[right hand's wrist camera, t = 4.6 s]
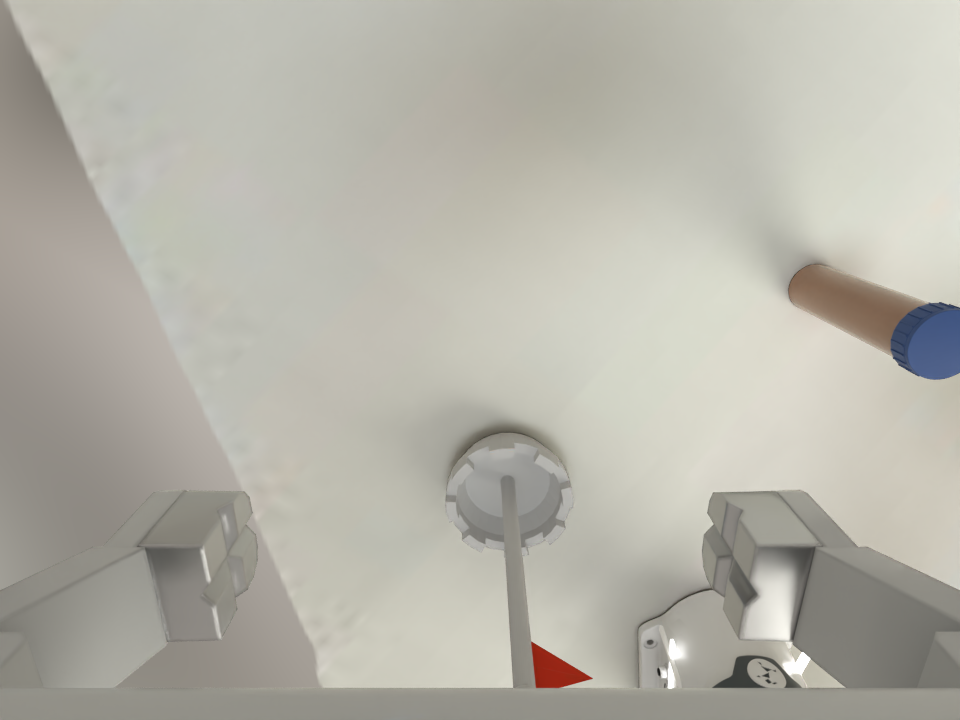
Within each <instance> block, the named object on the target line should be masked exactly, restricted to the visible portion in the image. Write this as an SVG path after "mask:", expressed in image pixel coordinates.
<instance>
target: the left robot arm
mask: <svg viewBox="0 0 960 720" xmlns="http://www.w3.org/2000/svg"><path fill="white" fill-rule="evenodd" d="M723 604H724V597H723V596H721V595H720V594H718V593H717V592H715V591H714V590H708V591H703V592H700V593H696V594H694V595H691V596H689V597H687V598H685V599H683V600H681V601H680V602H678V603H677V604H676V605H674V606H673V607H672V608H671V609H670V610H668V611H667V612H666V613H665V614H663V615H662V616H660V617H658V618H655V619H653V620H650V621H648V622H646V623H644V624H642V625H641V626H640V627H639V630H638V649H639V688H808V687H807V685H806V683H805V681H804V679H803V677H802V672H803V670H804V668H805V667H806V665H807V663H808V661H809V660H810V658H809V657H808V656H806V655H805V654H804V653H803V652H802V654H801V655H800V657H799V659H798V661H797V662H795V660H794V658H793V656H792V654H791V652H790V649H791V647H792V642H782V641H746V640H739V639H738V637H737V635H736V633H735V632H734V630H733V628H732V626H731V624H730V622H729V620H728V618H727V616H726V615H725V613H724V611H723Z"/></svg>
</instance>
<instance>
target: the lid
mask: <svg viewBox="0 0 960 720" xmlns="http://www.w3.org/2000/svg"><path fill="white" fill-rule="evenodd" d="M890 341H891V344H890V345H891V349H890V350H891V352H892V355H893V359H895V360H896V362H897V363H898V365H899V366H901V367H903V368H905V369H906V370H908V371H910V372H911V373H913V374H915V375H917V376H921V377H924V378H927V379H934V380H936V379H945V378H949V377H952V376H954V375H956V374H958V373H960V308H959V307H956V306H953V305H950V304H949V305H947V304H944V303H941V302H939V303H928V304H926V305H922V306H918V307H917V308H915V309H914V310H912V311H910V312H908V314H906V315H905V316H904V317H903V318H902V319H901V320H900V321H899V323H898V324H897V326H896V327H895V329H894V331H893V334H892V337H891V340H890Z"/></svg>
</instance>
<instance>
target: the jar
mask: <svg viewBox="0 0 960 720" xmlns="http://www.w3.org/2000/svg"><path fill="white" fill-rule="evenodd" d="M789 297H790V300H791V302H792V303H793V304H794V305H795V306H796V307H798V308H800V309H801V310H803V311H805V312H807V313H809V314H811V315H813V316H815V317H817V318H819V319H821V320H823V321H825V322H826V323H828V324H830V325H832V326H834V327H836V328H838V329H840V330H842V331H844V332H846V333H848V334H850V335H851V336H853V337H855V338H857V339H859V340H861V341H863V342H865V343H867V344H869V345H871V346H873V347H875V348H876V349H878V350H880V351H882V352H884V353H886V354H888V355H890V356H892V357H893V355H892V352H891V350H890V349H891V345H890V344H891V341H890V340H891V337H892V334H893V331H894V329H895V327H896V326H897V324H898V323H899V321H900V320H901V319H902V318H903V317H904V316H905V315H906V314H908V312H910V311H912V310H914V309H915V308H917V307H918V306H922V305H926V304H928V303H929V302H926V301H923V300H920V299H917V298H915V297H912V296H909V295H906V294H903V293H901V292H898V291H895V290H892V289H889V288H887V287H884V286H881V285H878V284H875V283H873V282H870V281H867V280H864V279H861V278H859V277H856V276H853V275H850V274H847V273H845V272H842V271H839V270H836V269H833V268H831V267H828V266H825V265H821V264H813V265H809V266H806V267H804V268H802V269H801V270H800V271H798V272H797V273H796V274H795V276H794V277H793V279H792V280H791V283H790V286H789Z"/></svg>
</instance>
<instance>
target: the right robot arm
mask: <svg viewBox="0 0 960 720" xmlns="http://www.w3.org/2000/svg"><path fill="white" fill-rule="evenodd" d="M252 513H253V512H252V507H251V502H250V497H249V496H248V495H247V494H246V493H245V492H241V491H191V490H190V491H186V490H161V491H157V492H154V493H152V495H151V496H150V497H149V498H148V499H147V500H146V501H145V502H144V503H143V504H142V505H141V506H140V507H139V508H138V509H137V510H136V511H135V513H134V514H133V515H132V516H131V517H130V518H129V519H128V520H127V521H126V522H125V523H124V524H123V525H122V526H121V527H120V528H119V529H118V531H117V532H116V533H115V534H114V535H113V536H112V537H111V538H110V539H109V540H108V541H107V542H106V543H105V544H104V545H103V546H102V547H91V548H89V549H87V550H85V551H83V552H81V553H79V554H76V555H74V556H72V557H70V558H68V559H66V560H64V561H62V562H60V563H57V564H55V565H53V566H51V567H49V568H47V569H45V570H42V571H40V572H38V573H36V574H34V575H32V576H30V577H28V578H25V579H23V580H21V581H19V582H17V583H15V584H13V585H11V586H8V587H6V588H4V589H2V590H0V720H960V590H958V589H956V588H953V587H951V586H949V585H947V584H945V583H943V582H941V581H939V580H936V579H934V578H932V577H930V576H928V575H926V574H924V573H922V572H920V571H917V570H915V569H913V568H911V567H909V566H907V565H905V564H903V563H900V562H898V561H896V560H894V559H892V558H890V557H888V556H886V555H883V554H881V553H879V552H877V551H875V550H873V549H871V548H869V547H858V546H857V545H856V544H855V543H854V542H853V541H852V540H851V539H850V538H849V537H848V536H847V535H846V534H845V533H844V532H843V530H842V529H841V528H840V527H839V526H838V525H837V524H836V523H835V522H834V521H833V520H832V519H831V518H830V517H829V516H828V515H827V514H826V512H825V511H824V510H823V509H822V508H821V507H820V506H819V505H818V504H817V503H816V502H815V501H814V500H813V499H812V498H811V497H810V495H809V494H808V493H806V492H804V491H801V490H782V491H757V492H715V493H713V494H712V496H711V498H710V501H709V506H708V512H707V513H708V515H709V517H710V518H711V520H712V522H713V523H714V525H713V526H712V527H711V528H710V529H709V530H708V531H707V532H706V533H705V534H704V539H703V547H702V556H703V567H704V570H705V574H706V577H707V580H708V582H709V584H710V586H711V588H712V590H714V591H715V592H717V593H718V594H720V595H721V596H723V597H724V604H723V611H724V613H725V615H726V616H727V618H728V620H729V622H730V624H731V626H732V628H733V630H734V632H735V633H736V635H737V637H738V639H739V640H746V641H782V642H793V645H794V646H795V647H796V648H798V649H799V650H800V651H801V652H803V653H804V654H805V655H806V656H808V657H809V658H810V659H811V660H812V661H814V662H815V663H816V664H817V665H819V666H820V667H821V668H822V669H824V670H825V671H826V672H827V673H828V674H830V675H831V676H832V677H833V678H835V679H836V680H837V681H838V682H840V683H841V684H842V685H843V686H844V687H846V688H114V687H116V686H117V685H118V684H119V683H121V682H122V681H123V680H124V679H125V678H127V677H128V676H129V675H130V674H132V673H133V672H134V671H135V670H137V669H138V668H139V667H140V666H141V665H143V664H144V663H145V662H147V661H148V660H149V659H150V658H151V657H153V656H154V655H155V654H156V653H158V652H159V651H160V650H161V649H163V648H164V647H165V646H166V645H167V642H178V641H212V640H221V639H222V637H223V635H224V633H225V632H226V630H227V628H228V626H229V624H230V622H231V620H232V618H233V616H234V614H235V613H236V611H237V604H236V597H237V596H239V595H240V594H242V593H243V592H245V591H246V590H247V589H248V588H249V585H250V584H251V581H252V579H253V577H254V573H255V569H256V565H257V560H258V545H257V538H256V534H255V533H254V532H253V531H252V530H251V529H250V528H249V527H248V526H247V525H246V523H247V522H248V520H249V518H250V517H251V515H252Z"/></svg>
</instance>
